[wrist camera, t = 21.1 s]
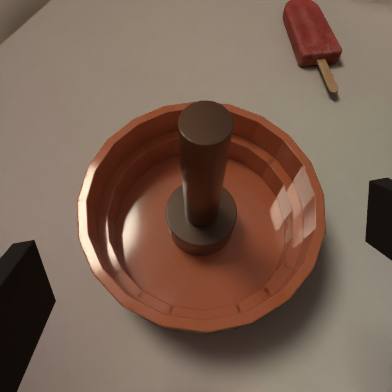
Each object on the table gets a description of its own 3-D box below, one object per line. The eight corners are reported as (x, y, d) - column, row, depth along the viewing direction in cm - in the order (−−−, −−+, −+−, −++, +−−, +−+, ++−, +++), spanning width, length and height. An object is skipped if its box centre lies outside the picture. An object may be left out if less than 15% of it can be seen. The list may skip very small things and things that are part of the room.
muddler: (173, 261, 26) (153, 184, 13) (163, 200, 28) (138, 85, 16) (239, 249, 26) (281, 163, 14) (224, 190, 29) (248, 69, 16)
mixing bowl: (108, 354, 24) (82, 358, 18) (95, 158, 31) (74, 119, 25) (328, 309, 25) (365, 299, 20) (267, 131, 32) (282, 88, 27)
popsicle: (317, 88, 32) (280, -3, 39) (311, 100, 34) (277, 11, 40) (360, 84, 32) (316, -6, 39) (352, 96, 34) (311, 7, 41)
